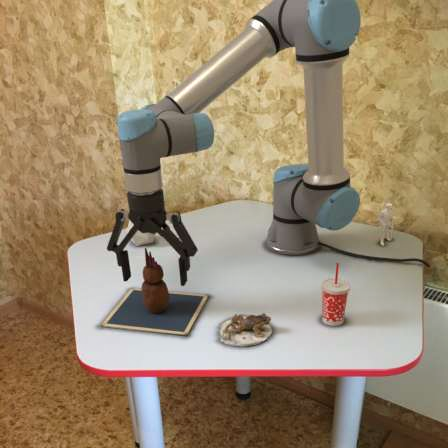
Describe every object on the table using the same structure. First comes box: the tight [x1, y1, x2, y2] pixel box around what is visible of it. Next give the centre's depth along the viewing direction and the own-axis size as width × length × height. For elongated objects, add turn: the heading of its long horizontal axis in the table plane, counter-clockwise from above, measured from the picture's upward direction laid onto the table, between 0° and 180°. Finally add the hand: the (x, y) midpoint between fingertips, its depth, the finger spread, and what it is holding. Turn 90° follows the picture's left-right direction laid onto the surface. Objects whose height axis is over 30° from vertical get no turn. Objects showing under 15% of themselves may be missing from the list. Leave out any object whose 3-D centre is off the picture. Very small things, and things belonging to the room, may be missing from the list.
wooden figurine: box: [141, 247, 169, 313], centre depth 120 cm, size 7×6×15 cm
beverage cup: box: [320, 262, 351, 327], centre depth 115 cm, size 6×6×14 cm
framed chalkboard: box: [100, 287, 210, 337], centre depth 124 cm, size 20×18×1 cm
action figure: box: [376, 202, 398, 247], centre depth 152 cm, size 6×4×12 cm, turn 123°
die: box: [125, 220, 157, 247], centre depth 158 cm, size 8×9×10 cm
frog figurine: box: [219, 313, 273, 348], centre depth 115 cm, size 12×12×4 cm
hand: (155, 281), depth 120 cm, fingers open, 13 cm apart
